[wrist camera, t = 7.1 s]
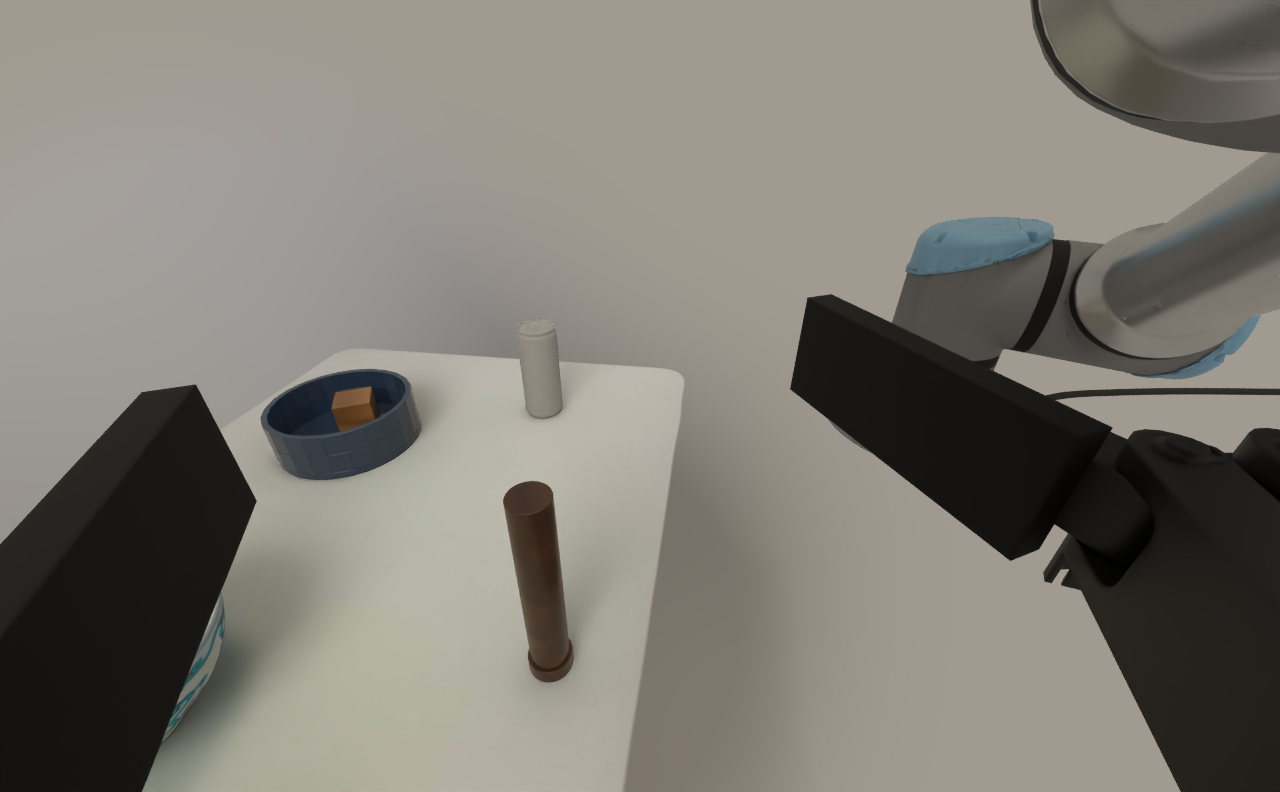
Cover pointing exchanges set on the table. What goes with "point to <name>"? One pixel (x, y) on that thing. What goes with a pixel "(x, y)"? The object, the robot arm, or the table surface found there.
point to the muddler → (539, 578)
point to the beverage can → (540, 367)
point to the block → (354, 408)
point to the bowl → (313, 435)
